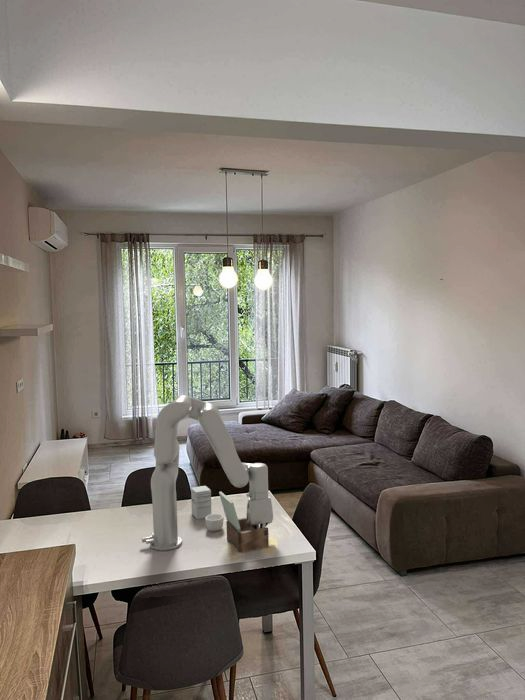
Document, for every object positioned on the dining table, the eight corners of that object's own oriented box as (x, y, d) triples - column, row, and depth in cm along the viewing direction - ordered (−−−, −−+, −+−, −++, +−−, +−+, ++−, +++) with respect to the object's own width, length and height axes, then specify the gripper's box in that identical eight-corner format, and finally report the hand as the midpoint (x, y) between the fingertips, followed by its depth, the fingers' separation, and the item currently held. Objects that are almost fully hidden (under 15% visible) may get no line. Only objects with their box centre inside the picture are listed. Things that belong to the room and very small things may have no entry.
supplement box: (191, 514, 253) (190, 487, 252) (206, 511, 256) (205, 485, 255) (196, 519, 246) (195, 492, 245) (212, 516, 249) (211, 489, 248)
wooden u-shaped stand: (239, 553, 211) (238, 534, 210) (226, 538, 225) (226, 520, 224) (269, 547, 216) (268, 528, 215) (254, 533, 229) (254, 515, 229)
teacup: (221, 533, 230) (221, 520, 230) (203, 532, 231) (203, 520, 231) (226, 524, 240) (225, 512, 240) (208, 523, 241) (208, 511, 241)
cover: (241, 531, 211) (239, 532, 211) (228, 519, 224) (226, 520, 224) (233, 502, 209) (230, 503, 209) (221, 491, 222) (218, 492, 222)
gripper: (245, 500, 215) (246, 545, 216) (279, 494, 220) (280, 538, 222) (238, 494, 221) (239, 538, 223) (272, 489, 227) (273, 532, 229)
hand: (260, 538), depth 222 cm, fingers closed
